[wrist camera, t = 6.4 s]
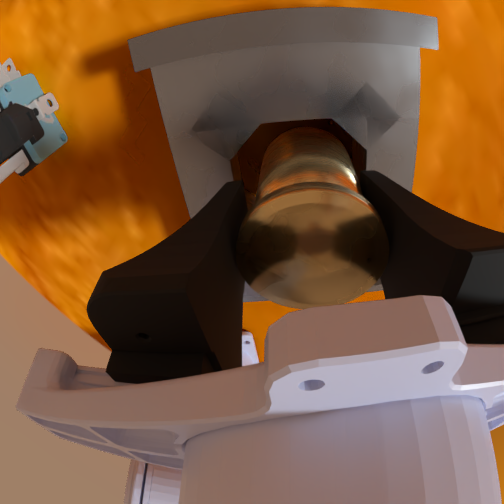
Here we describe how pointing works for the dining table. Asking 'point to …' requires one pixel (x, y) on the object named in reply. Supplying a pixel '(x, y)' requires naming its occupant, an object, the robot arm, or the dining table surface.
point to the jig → (287, 88)
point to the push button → (25, 123)
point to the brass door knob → (310, 225)
